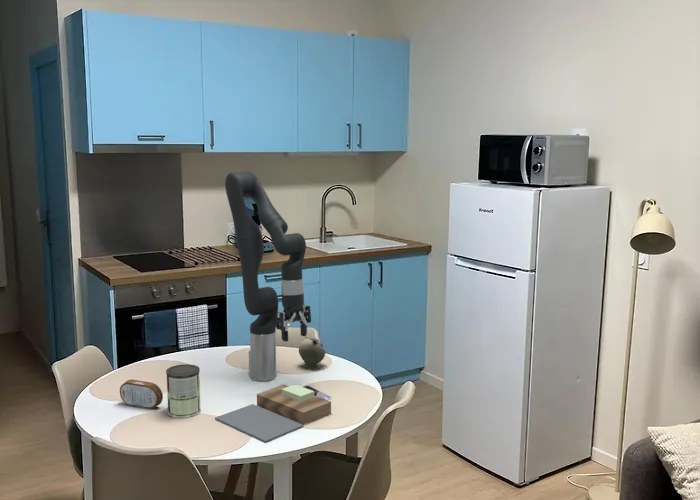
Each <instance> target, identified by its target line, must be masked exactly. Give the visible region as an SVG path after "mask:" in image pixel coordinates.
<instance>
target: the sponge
mask: <svg viewBox="0 0 700 500" xmlns="http://www.w3.org/2000/svg"><path fill="white" fill-rule="evenodd" d="M288 386H289V387H286V388H284V389H282V395H283V396H285V397H288V398H291V399H293V400H296V401H299V402H303V401H306V400H308V399H311V398H314V391H312V390H309V389H307V388H304V387H303V386H301V385H298V384H292V385H288Z"/></svg>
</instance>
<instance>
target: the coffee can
mask: <svg viewBox="0 0 700 500" xmlns="http://www.w3.org/2000/svg"><path fill="white" fill-rule="evenodd" d="M165 373H166V389H167V393H166V394H167V414H168V416H170V417H171V416H172V418H175V417H176V418H175V419H187V418H192V417H194V416H195V417H196V416H197V415H198V414H200V413H201V411H202V409H201V389H200V387H201V386H200V384H201V383H200V382H201V381H200V367H199V366H198V365H196V364H191V363H190V364H189V363H187V364H184V363H183V364H177V365H173V366H169V367H168V368H167V369H166V370H165Z"/></svg>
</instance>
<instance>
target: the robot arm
mask: <svg viewBox="0 0 700 500" xmlns="http://www.w3.org/2000/svg"><path fill="white" fill-rule="evenodd" d="M224 187H225V192H226V197H227V201H228V204H229V205H228V206H229V208H230V212H231V216H232V221H233V225H234V232H235V239H236V244H237V251H238V256H239V261H240V262H239V264H240V268H241V276H242V286H243V287H242V290H243V300H244V306H245V309H246V311H247V312H248V314H250V316H251V315H252V316H258V317H257V318H256V319H255V320H253V321H251V324H249V346H250V350H249V351H248V376H249V377H250V378H251V380H254V381H257V382H269V381H272V380H274V379H276V378H277V339H276V337H277V334H276V333H277V331H276V330H280V331H281V340H282V342H286V343H287V342H288V341H289V331H288V329H289V327H290V326H291V325H292V323H295V322H299V324H300V336H301V337H305V336H306V337H307V335H308V324H309V323H311V322H312V313H311V311H312V310H311V306H310V305H305V296H304V295H305V293H304V292H305V290H304V288H305V287H304V282H303V263H304V259H305V254H306V250H307V243H306V239H305V237H304V235H302V234H301V233H299V232H294V233H288V234H286V233H287V232H288V229H289V226H288V223H287V222H286V220H285V219H284V218H283V217H282V216H281V214H280V213H279V212H278V210H277V209H276V208H275V207H274V205H273V204H272V202H271V200H270V198H269V196H268V194H267V193H266V191H265V188H264V186H263V185H262V183H261V182H260V180H259V178H258V177H257V176H256V174H254V173H253V172H250V171H238V172H236V171H234V172H230V173H227V175H226V177H225V181H224ZM247 198H250V199H251V200H252V201H254V203H255V204H256V206H257V215H258V219H259V222H260V224H261V225H262V227H263V228H264V229H265V230H266V232H267V233H268V235H269V236H270V239H271V241H272V244H273V247H274V249H275V251H276V252H277V253H278V254H279V255H281V256H289V258H288V260H286V261H285V262H283V263H282V264H281V266H280V267H281V268H280V269H281V273H280V274H281V285H280V287H281V305H282V307H283V310H282V311H279V298H278V297H279V296H278V293H277V291H276V290H275V288H273V287H271V286H264V287H260V286H259V280H258V279H259V277H258V276H259V270H260V267H261V264H262V261H263V258H264V253H265V246H264V241H263V234H262V231H261V229H260V227H259V226H258V224H257V223H256V222H255V220H254V219H253V218H252V216H251V215H250V213H249V212H248V210H247V207H246V204H245V199H247Z"/></svg>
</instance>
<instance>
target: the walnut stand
mask: <svg viewBox="0 0 700 500" xmlns="http://www.w3.org/2000/svg"><path fill="white" fill-rule="evenodd" d="M289 386H290V385H286V384H282V385H279V386H277V387H273V388H271V389H267V390H265V391H262V392H258V393H256V406H258V407H261V408H263V409H266V410H268V411H271V412H273V413H275V414H278V415H280V416H283V417H285V418H288V419H290V420H292V421H295V422H297V423H300V424H302V425H305V426H306V425H307V424H309V423H312V422H315V421H317V420H319V419H322V418H324V417H327V416H328V415H331V414H332V401H331V400H325V399H322V398H320V397H317V396H314V398H311V399H308V400H306V401H303V402H299V401H296V400H293V399H291V398H288V397H285V396H283V395H282V389H284V388H286V387H289Z"/></svg>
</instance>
